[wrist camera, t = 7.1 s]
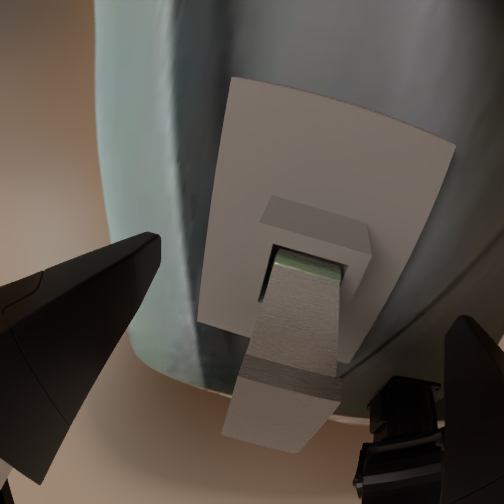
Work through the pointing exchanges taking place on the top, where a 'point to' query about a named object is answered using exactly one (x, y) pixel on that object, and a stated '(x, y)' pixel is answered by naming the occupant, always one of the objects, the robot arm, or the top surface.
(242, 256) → the jack stand base
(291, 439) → the grey-brown stepped block
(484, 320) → the top surface
